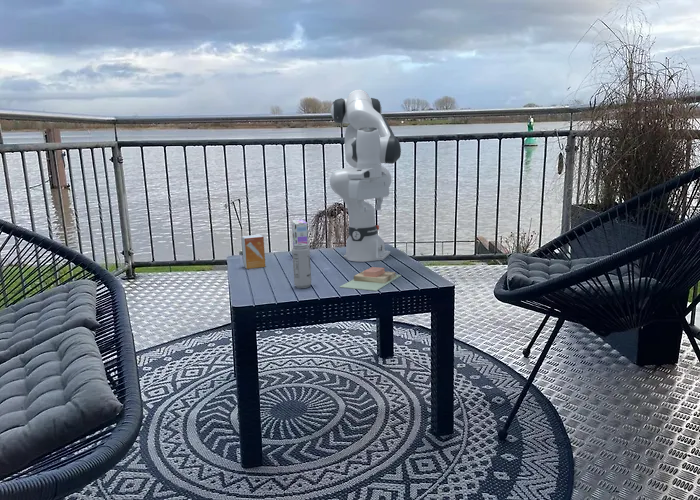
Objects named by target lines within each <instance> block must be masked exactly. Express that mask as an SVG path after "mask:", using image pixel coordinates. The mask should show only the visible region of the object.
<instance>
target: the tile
mask: <svg viewBox="0 0 700 500" xmlns="http://www.w3.org/2000/svg"><path fill="white" fill-rule="evenodd" d="M363 271H364V276H368V277H378V276H380V275H381V274H383V273H385V267H378V266H377V267H376V266H371V267H369V268H367V269H365V270H363Z"/></svg>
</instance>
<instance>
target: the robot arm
mask: <svg viewBox="0 0 700 500" xmlns="http://www.w3.org/2000/svg"><path fill="white" fill-rule="evenodd" d="M382 111H383V110H382V104H381V101H380V100H379V99H377V98H374V97H370V96H369V94H368V93H367V92H366V91H365V90H363V89H354V90H352V91H351V92H350V93H349V94H348V96H347V97H346V98H342V97H341V98H340V97H339V98H337V99H335V100H334V101H332V105H331V106H330V114H331V117H332V119H333V122H335V124H336V123H337V124H348V125H347V127H346V128H345V133H344V153H345V160H346V163H348V164H349V166H351V167H344V168H339V169H336V170H334V171H333V172H332V173H331V174H330V178H329V186H330V188H331V190H332V191H333V192H334V193H335V194H336V195H338V196H339V197H340V198H341V199H342V200H343V202H344V203H345V205H346V208H347V213H348V214H347V215H348V224H349V225H348V230H347V231H348V235H349V236H348V238H346V244H345V245H346V246H345V247H346V248H345V252H346V253H345V254H344V255H343V258H344V259H346V260H347V261H351V262H358V263H359V262H361V263H362V262H364V263H365V262H374V261H383V260H386V258H387V257H388V256H389V255H391V251H390V250H386V245H385V241H384V239H383V238H382V237H381V236H380V235H379V234H378V231H379V230H380V224H379V225H378V224H377V225H376V211H380V210H381V209H382V204H383V201H384V198H385V197H389V195H390V186H391V184H392V175H391V173H390V171H389V170H388V169H387V168H386V167H384V166H382V164H388V165H389V164H395V163H396V162H397V161H398V160H399V159H400V158H401V153H402V148H401V143H400V141H399V139H398V138H397V137H396V135H395V134H394V132H393V131H392V128H391V126H390V124H389V122H388V120H387V118H386V117H385V116H384V115H383V114H382ZM372 199H376V200H375V201H376V204H374V206H373V205H372V204H371V203H369V202H367V201H365V200H372ZM381 211H382V210H381Z"/></svg>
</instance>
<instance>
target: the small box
mask: <svg viewBox="0 0 700 500" xmlns="http://www.w3.org/2000/svg"><path fill="white" fill-rule="evenodd" d="M241 248H242V251H241V252H242V263H243V267H244V268H245V269H246V270H250V269H257V268H258V269H259V268H266V252H265V238H264V236H263V235H262V234H254V235H252V234H251V235H244V236H243V235H242V236H241Z"/></svg>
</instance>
